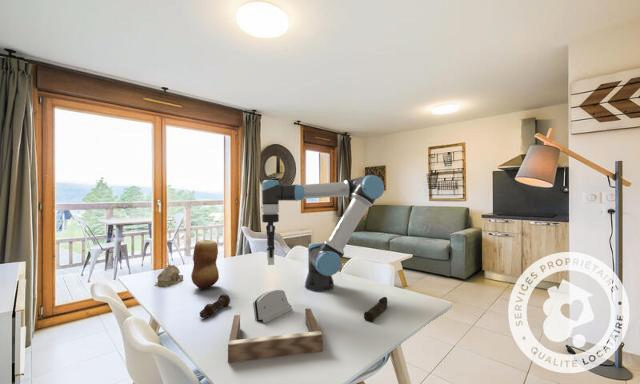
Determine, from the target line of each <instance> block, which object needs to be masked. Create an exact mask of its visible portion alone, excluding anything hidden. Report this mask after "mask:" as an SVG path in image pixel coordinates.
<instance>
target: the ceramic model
mask: <svg viewBox="0 0 640 384" xmlns="http://www.w3.org/2000/svg"><path fill="white" fill-rule="evenodd" d="M180 273H181V272H180V269H179V268H178V267H177V266H176V265H174V264H167V266H166V267H164V268H163V269H162V271H161V272H160V273H158V276H157V277H156V278H157V281H156V282H155V284H154V286H156V287H169V286H175V285H176V284H179V283H181V282H182V281H183V279H184V275H183V274H180Z"/></svg>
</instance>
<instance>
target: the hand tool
mask: <svg viewBox="0 0 640 384" xmlns="http://www.w3.org/2000/svg"><path fill="white" fill-rule="evenodd" d="M387 308H388V298H387V297H386V296H383V297H381V298H380V299H379V300H378V302H377V303H376V304H375V305H374V306H372V307H371V308H369V309H368V310H367V311H364V313H363V319H364V321H366V322H369V323H372V322H374V320H375V318H376V317H377V316H378V315H380V314H381V313H382V312H385V311H386V310H387Z"/></svg>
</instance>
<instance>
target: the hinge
mask: <svg viewBox="0 0 640 384" xmlns="http://www.w3.org/2000/svg"><path fill="white" fill-rule="evenodd" d="M252 305H253V316H254V321H260V320H262V322H263V324H266V323H268V322H270V321H272V320H273V319H276V318H277V317H279V316H281V315H283V314H286V313H288V312H290V311H292V310H293V308H292V304H291V303H289V301H288V297H287V295H286V292H285V290H282V289H275V290H269V291H266V292H264V293H262V294H260V295H259V296H258V297H256V299H254V301H252Z"/></svg>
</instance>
